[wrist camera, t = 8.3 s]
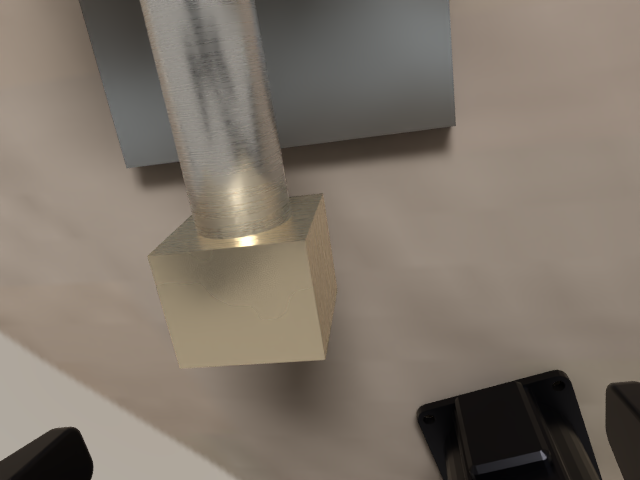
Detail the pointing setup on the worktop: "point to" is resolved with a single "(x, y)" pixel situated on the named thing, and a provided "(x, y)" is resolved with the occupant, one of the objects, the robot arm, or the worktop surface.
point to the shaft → (234, 200)
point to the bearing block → (295, 71)
